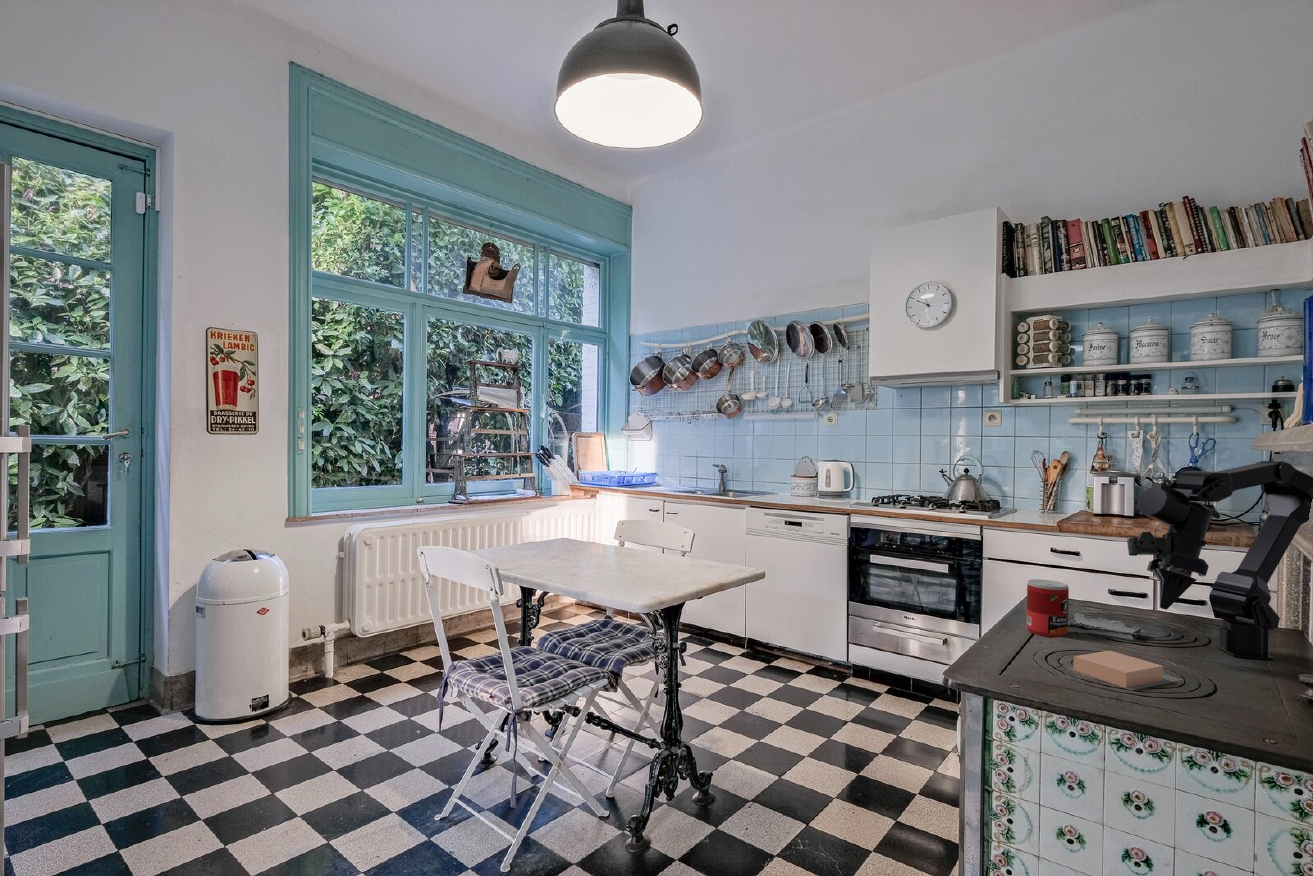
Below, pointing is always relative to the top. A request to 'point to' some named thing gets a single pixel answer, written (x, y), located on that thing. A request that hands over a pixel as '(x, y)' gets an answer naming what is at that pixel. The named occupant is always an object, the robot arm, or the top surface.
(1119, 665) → the terracotta tile
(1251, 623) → the robot arm
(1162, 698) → the top surface
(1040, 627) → the canned food
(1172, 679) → the rubber mat
